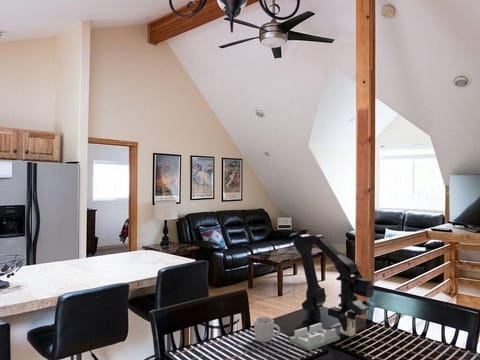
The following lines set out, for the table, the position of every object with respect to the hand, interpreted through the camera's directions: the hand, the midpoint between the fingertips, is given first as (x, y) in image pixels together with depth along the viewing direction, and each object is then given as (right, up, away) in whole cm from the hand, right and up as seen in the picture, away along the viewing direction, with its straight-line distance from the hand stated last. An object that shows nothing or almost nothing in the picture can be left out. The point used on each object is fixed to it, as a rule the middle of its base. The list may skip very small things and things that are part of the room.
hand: (347, 329), depth 159 cm
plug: (0, -2, 0) cm, 2 cm away
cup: (-34, -2, -7) cm, 35 cm away
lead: (-2, -2, +8) cm, 9 cm away
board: (-15, -1, -6) cm, 16 cm away
